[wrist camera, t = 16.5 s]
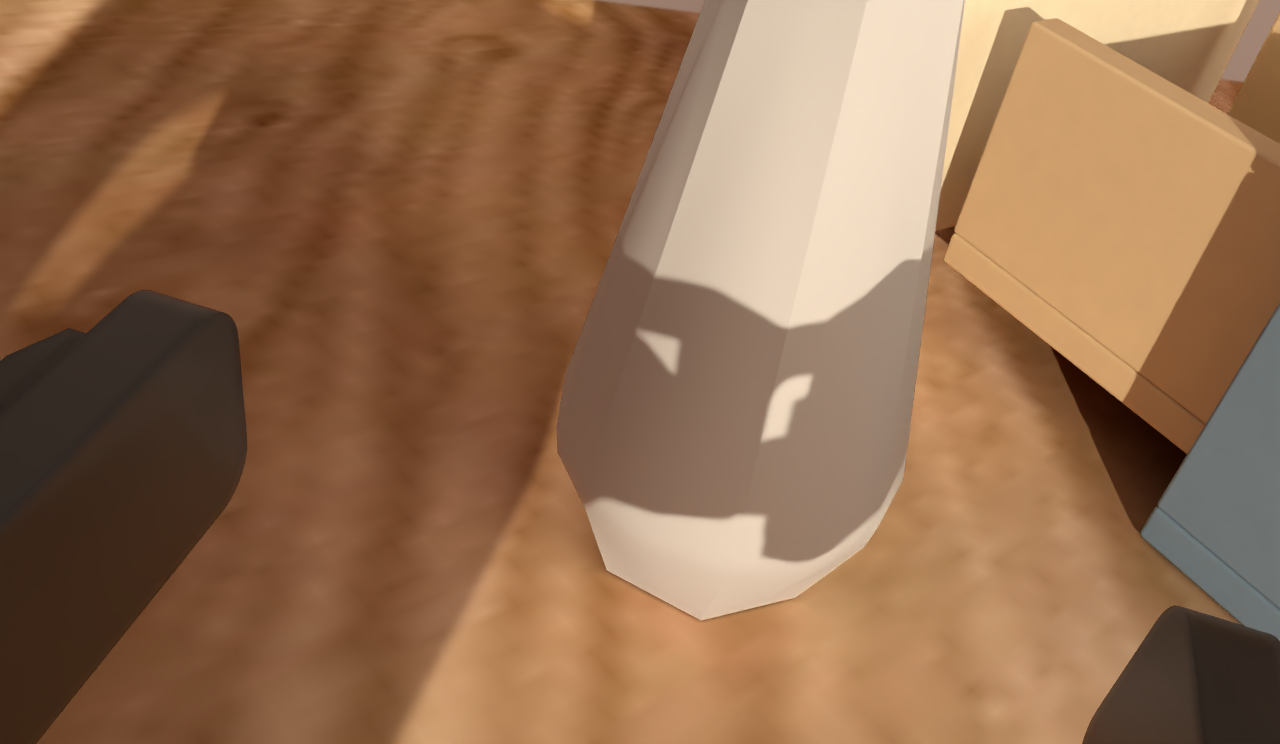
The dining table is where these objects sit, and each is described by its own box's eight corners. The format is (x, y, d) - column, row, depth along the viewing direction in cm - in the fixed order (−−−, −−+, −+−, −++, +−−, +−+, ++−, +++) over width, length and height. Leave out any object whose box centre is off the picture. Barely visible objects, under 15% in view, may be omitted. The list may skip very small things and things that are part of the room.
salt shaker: (730, 386, 24) (917, -331, 16) (928, 577, 21) (1288, -203, 13) (481, 478, 21) (557, -349, 13) (667, 717, 18) (923, -187, 10)
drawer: (710, 109, 32) (759, -133, 28) (1000, 60, 38) (1076, -147, 34) (1343, 630, 20) (1580, 345, 16) (1626, 447, 26) (1854, 202, 22)
